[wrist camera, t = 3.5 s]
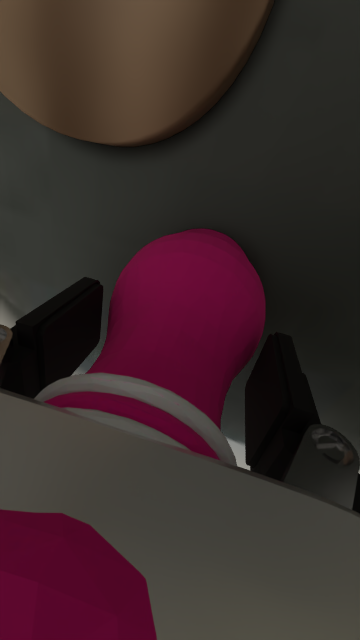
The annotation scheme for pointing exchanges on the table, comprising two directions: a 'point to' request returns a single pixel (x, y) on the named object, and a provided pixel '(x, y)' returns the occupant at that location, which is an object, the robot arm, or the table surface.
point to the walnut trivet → (124, 62)
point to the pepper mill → (135, 428)
